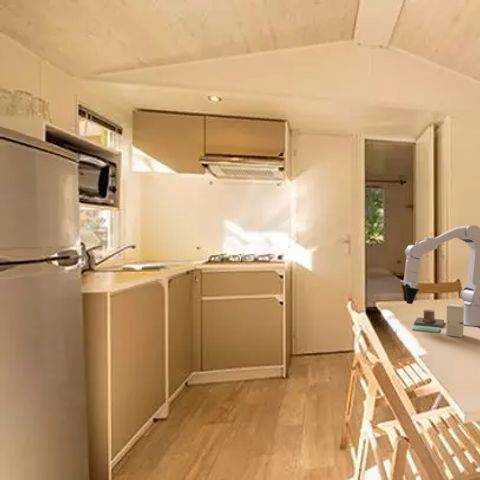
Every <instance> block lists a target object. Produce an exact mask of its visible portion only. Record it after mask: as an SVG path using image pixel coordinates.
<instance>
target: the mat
mask: <svg viewBox="0 0 480 480" xmlns="http://www.w3.org/2000/svg"><path fill="white" fill-rule="evenodd" d="M411 331H414V332H415V331H416V332H424V333H434V334H439V333H440V331H441V328H439V327H429V326H419V325H414V324H413V327H412V328H411Z"/></svg>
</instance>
